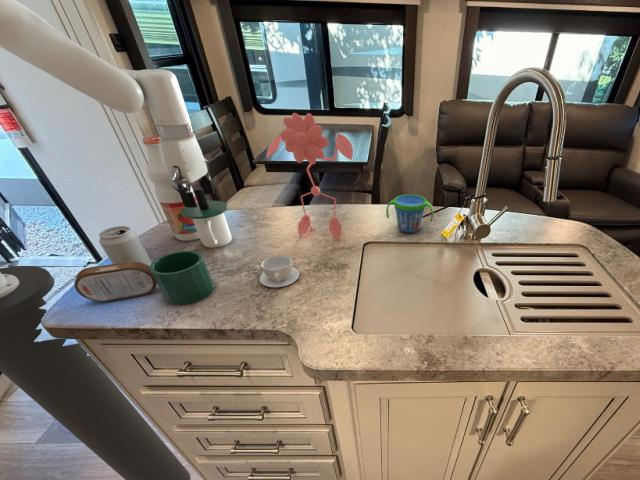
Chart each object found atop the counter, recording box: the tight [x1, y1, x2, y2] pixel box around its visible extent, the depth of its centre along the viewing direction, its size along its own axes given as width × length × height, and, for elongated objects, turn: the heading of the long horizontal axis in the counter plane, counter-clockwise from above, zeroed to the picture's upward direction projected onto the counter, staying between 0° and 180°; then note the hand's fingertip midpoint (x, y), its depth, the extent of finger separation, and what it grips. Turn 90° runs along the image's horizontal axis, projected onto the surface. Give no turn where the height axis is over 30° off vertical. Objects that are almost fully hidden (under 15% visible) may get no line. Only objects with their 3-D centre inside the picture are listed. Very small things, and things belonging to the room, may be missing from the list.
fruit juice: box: [141, 135, 200, 242], centre depth 93 cm, size 9×9×28 cm
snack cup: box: [385, 193, 434, 234], centre depth 106 cm, size 16×10×10 cm
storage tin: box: [149, 250, 215, 306], centre depth 75 cm, size 10×10×8 cm
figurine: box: [265, 112, 354, 253], centre depth 90 cm, size 15×26×35 cm, turn 80°
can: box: [98, 225, 153, 266], centre depth 80 cm, size 8×8×12 cm
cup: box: [193, 212, 233, 249], centre depth 94 cm, size 8×12×10 cm
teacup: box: [259, 254, 300, 288], centre depth 82 cm, size 10×10×5 cm
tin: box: [73, 262, 158, 303], centre depth 73 cm, size 15×3×8 cm, turn 113°
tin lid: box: [181, 186, 229, 219], centre depth 89 cm, size 12×12×7 cm
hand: (200, 200), depth 88 cm, fingers open, 9 cm apart
